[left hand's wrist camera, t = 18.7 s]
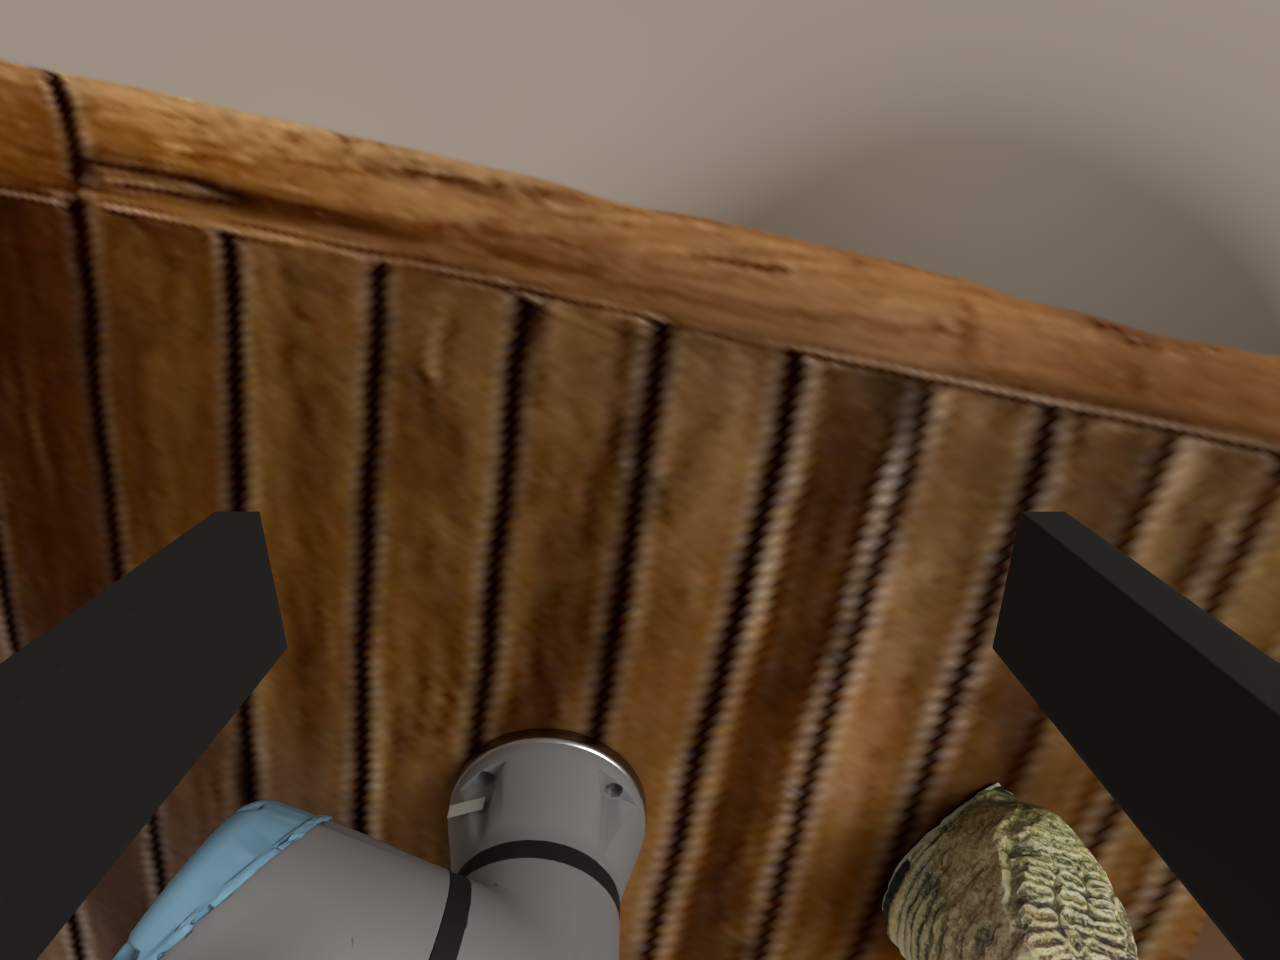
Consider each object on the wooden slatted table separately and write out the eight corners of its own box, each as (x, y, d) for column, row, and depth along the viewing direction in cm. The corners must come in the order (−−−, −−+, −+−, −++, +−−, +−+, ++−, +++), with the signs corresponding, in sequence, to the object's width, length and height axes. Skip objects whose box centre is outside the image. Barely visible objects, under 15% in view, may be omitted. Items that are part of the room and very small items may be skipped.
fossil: (1062, 776, 55) (1205, 968, 41) (959, 938, 62) (1054, 1153, 48) (956, 751, 54) (1066, 938, 40) (864, 918, 61) (931, 1130, 47)
